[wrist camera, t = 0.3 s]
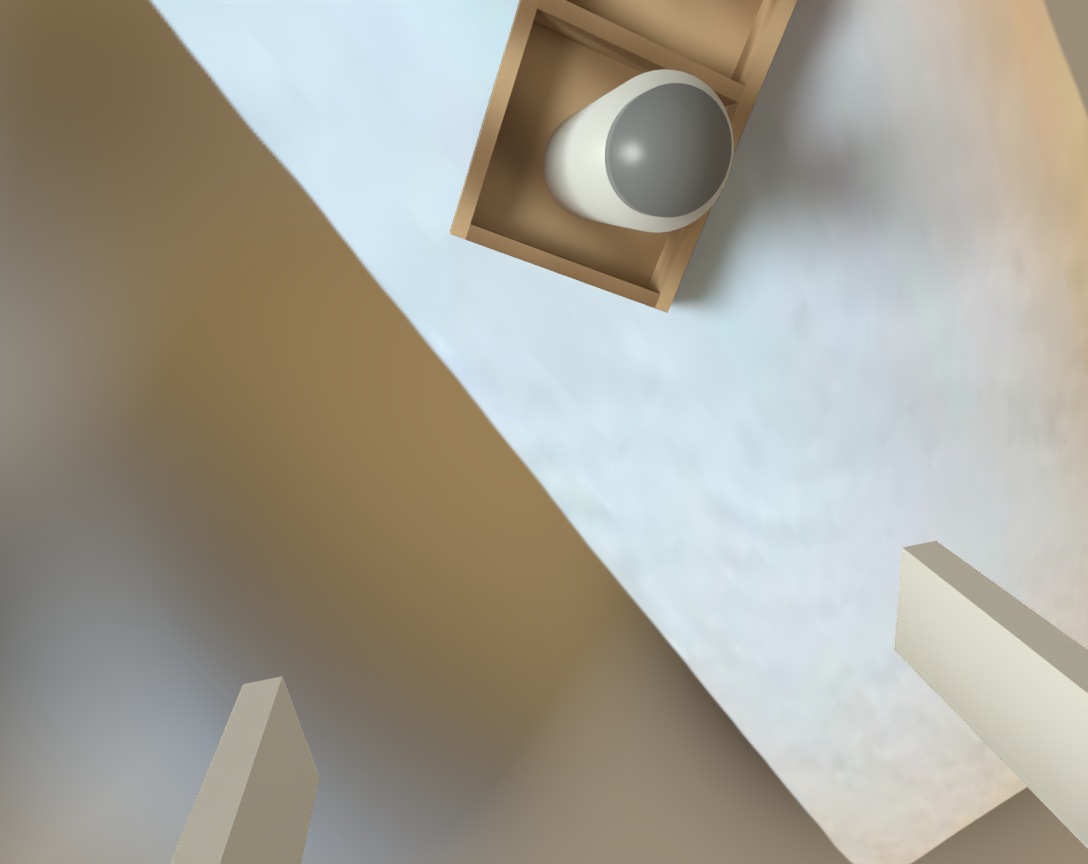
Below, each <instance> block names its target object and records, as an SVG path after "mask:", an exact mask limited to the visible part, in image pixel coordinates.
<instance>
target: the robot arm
mask: <svg viewBox="0 0 1088 864" xmlns="http://www.w3.org/2000/svg"><path fill="white" fill-rule="evenodd" d="M894 650H895V651H896V652H897V653H898V654H899V655H900V656H901V657H902V658H903V659H904V660H905V661H906V662H907V663H908V664H909V665H910V666H911V667H912V668H913V669H914V670H915V672H916V673H917V674H918V675H919V676H920V677H921V678H922V679H923V680H924V681H925V682H926V683H927V684H928V685H929V686H930V687H931V688H932V689H933V690H934V691H935V692H936V693H937V694H938V695H939V696H940V697H941V698H942V699H943V700H944V701H945V702H946V703H947V704H948V705H949V707H950V708H951V709H952V710H953V711H954V712H955V713H956V714H957V715H958V716H959V717H960V718H961V719H962V720H963V721H964V722H965V723H966V724H967V725H968V726H969V727H970V728H971V729H972V730H973V731H974V732H975V733H976V734H977V735H978V736H979V737H980V738H981V739H982V740H983V741H984V743H985V744H986V745H987V746H988V747H989V748H990V749H991V750H992V751H993V752H994V753H995V754H996V755H997V756H998V757H999V758H1000V759H1001V760H1002V761H1003V762H1004V763H1005V764H1006V765H1007V766H1008V767H1009V768H1010V769H1011V770H1012V771H1013V772H1014V773H1015V774H1016V775H1017V776H1018V778H1019V779H1020V780H1021V781H1022V782H1023V783H1024V784H1025V785H1026V786H1027V787H1028V788H1029V789H1030V790H1031V791H1032V792H1033V793H1034V794H1035V795H1036V796H1037V797H1038V798H1039V799H1040V800H1041V801H1042V802H1043V803H1044V804H1045V805H1046V806H1047V807H1048V808H1049V809H1050V810H1051V811H1052V812H1053V814H1054V815H1055V816H1056V817H1057V818H1058V819H1059V820H1060V821H1061V822H1062V823H1063V824H1064V825H1065V826H1066V827H1067V828H1068V829H1069V830H1070V831H1071V832H1072V833H1073V834H1074V835H1075V836H1076V837H1077V838H1078V839H1079V840H1080V841H1081V842H1082V843H1083V844H1084V845H1085V846H1086V847H1087V849H1088V650H1087V649H1085V648H1084V647H1083V646H1081V645H1080V644H1078V643H1077V642H1076V641H1074V640H1073V639H1072V638H1070V637H1069V636H1067V635H1066V634H1065V633H1063V632H1062V631H1060V630H1059V629H1058V628H1056V627H1055V626H1053V625H1052V624H1051V623H1049V622H1048V621H1047V620H1045V619H1044V618H1042V617H1041V616H1040V615H1038V614H1037V613H1035V612H1034V611H1033V610H1031V609H1030V608H1028V607H1027V606H1026V605H1024V604H1023V603H1022V602H1020V601H1019V600H1017V599H1016V598H1015V597H1013V596H1012V595H1010V594H1009V593H1008V592H1006V591H1005V590H1003V589H1002V588H1001V587H999V586H998V585H997V584H995V583H994V582H992V581H991V580H990V579H988V578H987V577H985V576H984V575H983V574H981V573H980V572H978V571H977V570H976V569H974V568H973V567H972V566H970V565H969V564H967V563H966V562H965V561H963V560H962V559H960V558H959V557H958V556H956V555H955V554H953V553H952V552H951V551H949V550H948V549H947V548H945V547H944V546H942V545H941V544H940V543H938V542H937V541H933V542H928V543H923V544H919V545H914V546H909V547H904V548H903V551H902V563H901V575H900V587H899V599H898V611H897V623H896V635H895V648H894ZM318 781H319V774H318V772H317V769H316V766H315V764H314V761H313V758H312V755H311V753H310V750H309V747H308V744H307V742H306V739H305V736H304V734H303V731H302V728H301V725H300V723H299V720H298V717H297V715H296V712H295V709H294V707H293V704H292V702H291V698H290V696H289V693H288V690H287V688H286V685H285V682H284V680H283V677H277V678H273V679H268V680H263V681H258V682H253V683H248V684H243V686H242V688H241V691H240V693H239V695H238V698H237V700H236V703H235V705H234V708H233V710H232V713H231V715H230V718H229V720H228V722H227V725H226V728H225V730H224V732H223V735H222V737H221V740H220V742H219V744H218V747H217V749H216V752H215V754H214V757H213V759H212V762H211V764H210V767H209V769H208V772H207V774H206V776H205V779H204V781H203V784H202V786H201V789H200V791H199V794H198V796H197V798H196V801H195V803H194V806H193V808H192V811H191V813H190V816H189V818H188V821H187V823H186V825H185V828H184V830H183V833H182V835H181V838H180V840H179V843H178V845H177V847H176V850H175V852H174V855H173V857H172V860H171V862H170V864H301V861H302V856H303V851H304V847H305V842H306V837H307V833H308V828H309V823H310V819H311V814H312V809H313V805H314V800H315V795H316V791H317V786H318Z"/></svg>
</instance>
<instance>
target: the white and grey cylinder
mask: <svg viewBox="0 0 1088 864" xmlns="http://www.w3.org/2000/svg"><path fill="white" fill-rule="evenodd" d="M733 153H734V139H733V131H732V126H731V122H730V119H729V116H728V114H727V111H726V109H725V107H724V105H723V103H722V102H721V100H720V99H719V97H718V96H717V95H716V93H715V92H714V91H713V90H712V89H711V88H710V87H709V86H708V85H707V84H705V83H704V82H703V81H701V80H700V79H698V78H696V77H695V76H693V75H690V74H688V73H685V72H682V71H677V70H667V69H662V70H653V71H650V72H646V73H643V74H640V75H638V76H636V77H634V78H632V79H630V80H629V81H627V82H625V83H624V84H622V85H620V86H619V87H617V88H615V89H614V90H612V91H611V92H609V93H607V94H606V95H604V96H602V97H601V98H599V99H597V100H596V101H594V102H592V103H591V104H589V105H587V106H586V107H584V108H583V109H581V110H579V111H578V112H576V113H574V114H573V115H571V116H569V117H568V118H566V119H565V120H564V121H563V122H562V123H561V124H560V125H559V126H558V127H557V128H556V129H555V131H554V132H553V133H552V135H551V137H550V139H549V141H548V143H547V146H546V149H545V153H544V160H543V172H544V178H545V183H546V185H547V188H548V190H549V192H550V194H551V196H552V198H553V199H554V201H555V202H556V203H557V204H558V205H559V206H560V207H561V208H562V209H563V210H564V211H566V212H567V213H569V214H571V215H573V216H575V217H578V218H581V219H586V220H591V221H595V222H600V223H605V224H610V225H615V226H620V227H625V228H630V229H635V230H640V231H646V232H657V233H661V232H669V231H673V230H677V229H680V228H682V227H685V226H687V225H689V224H690V223H692V222H694V221H696V220H697V219H698V218H700V217H701V216H702V215H703V214H704V213H705V212H707V211H708V210H709V209H710V208H711V206H712V205H713V204H714V203H715V201H716V200H717V199H718V197H719V195H720V194H721V192H722V191H723V188H724V186H725V184H726V182H727V180H728V177H729V174H730V170H731V166H732V162H733Z"/></svg>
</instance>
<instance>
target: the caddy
mask: <svg viewBox="0 0 1088 864" xmlns="http://www.w3.org/2000/svg"><path fill="white" fill-rule="evenodd" d="M796 2H797V0H520V1H519V5H518V8H517V11H516V14H515V18H514V21H513V24H512V28H511V31H510V34H509V38H508V41H507V44H506V48H505V51H504V54H503V57H502V61H501V64H500V67H499V71H498V74H497V77H496V81H495V84H494V87H493V91H492V94H491V97H490V100H489V104H488V107H487V110H486V114H485V117H484V120H483V124H482V127H481V130H480V133H479V137H478V140H477V143H476V147H475V150H474V153H473V157H472V160H471V163H470V167H469V170H468V173H467V176H466V180H465V183H464V186H463V190H462V193H461V196H460V200H459V203H458V206H457V210H456V213H455V216H454V219H453V223H452V226H451V229H450V233H451V234H452V235H455V236H457V237H460V238H463V239H466V240H468V241H471V242H474V243H477V244H479V245H482V246H485V247H488V248H490V249H493V250H496V251H499V252H501V253H504V254H507V255H510V256H512V257H515V258H518V259H521V260H524V261H526V262H529V263H532V264H535V265H537V266H540V267H543V268H546V269H548V270H551V271H554V272H557V273H559V274H562V275H565V276H568V277H570V278H573V279H576V280H579V281H581V282H584V283H587V284H590V285H592V286H595V287H598V288H601V289H603V290H606V291H609V292H612V293H615V294H617V295H620V296H623V297H626V298H628V299H631V300H634V301H637V302H639V303H642V304H645V305H648V306H650V307H653V308H656V309H659V310H661V311H664V312H667V313H668V310H669V308H670V305H671V303H672V301H673V298H674V296H675V293H676V291H677V289H678V286H679V284H680V281H681V279H682V277H683V274H684V272H685V269H686V267H687V265H688V262H689V260H690V257H691V255H692V252H693V250H694V248H695V245H696V243H697V240H698V238H699V236H700V233H701V231H702V228H703V226H704V224H705V221H706V219H707V216H708V214H709V212H710V209H711V208H710V209H709V210H708V211H707V212H705V213H704V214H703V215H702V216H701V217H700V218H698V219H697V220H696V221H694V222H692V223H690V224H689V225H687V226H685V227H682V228H680V229H677V230H673V231H669V232H661V233H657V232H646V231H640V230H635V229H630V228H625V227H620V226H615V225H610V224H605V223H600V222H595V221H591V220H586V219H581V218H578V217H575V216H573V215H571V214H569V213H567V212H566V211H564V210H563V209H562V208H561V207H560V206H559V205H558V204H557V203H556V202H555V201H554V199H553V198H552V196H551V194H550V192H549V190H548V188H547V185H546V183H545V178H544V172H543V160H544V153H545V149H546V146H547V143H548V141H549V139H550V137H551V135H552V133H553V132H554V131H555V129H556V128H557V127H558V126H559V125H560V124H561V123H562V122H563V121H564V120H565V119H566V118H568V117H569V116H571V115H573V114H574V113H576V112H578V111H579V110H581V109H583V108H584V107H586V106H587V105H589V104H591V103H592V102H594V101H596V100H597V99H599V98H601V97H602V96H604V95H606V94H607V93H609V92H611V91H612V90H614V89H615V88H617V87H619V86H620V85H622V84H624V83H625V82H627V81H629V80H630V79H632V78H634V77H636V76H638V75H640V74H643V73H646V72H650V71H653V70H662V69H667V70H677V71H682V72H685V73H688V74H690V75H693V76H695V77H696V78H698V79H700V80H701V81H703V82H704V83H705V84H707V85H708V86H709V87H710V88H711V89H712V90H713V91H714V92H715V93H716V95H717V96H718V97H719V99H720V100H721V102H722V103H723V105H724V107H725V109H726V111H727V114H728V116H729V119H730V122H731V126H732V131H733V139H734V151H735V149H736V147H737V144H738V142H739V139H740V137H741V135H742V132H743V130H744V127H745V125H746V123H747V120H748V118H749V115H750V113H751V110H752V108H753V106H754V103H755V101H756V98H757V96H758V94H759V91H760V89H761V86H762V84H763V82H764V79H765V77H766V74H767V72H768V70H769V67H770V65H771V62H772V60H773V58H774V55H775V53H776V50H777V48H778V45H779V43H780V41H781V38H782V36H783V33H784V31H785V29H786V26H787V24H788V21H789V19H790V17H791V14H792V12H793V9H794V7H795V5H796ZM733 154H734V153H733ZM711 207H712V206H711Z"/></svg>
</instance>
